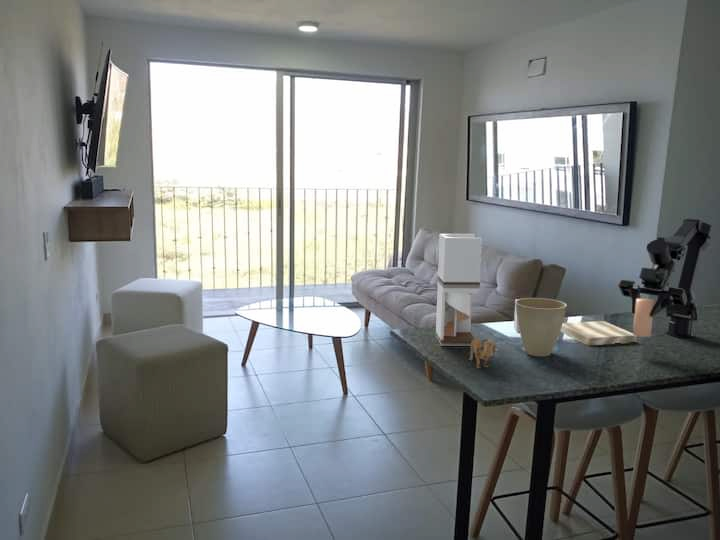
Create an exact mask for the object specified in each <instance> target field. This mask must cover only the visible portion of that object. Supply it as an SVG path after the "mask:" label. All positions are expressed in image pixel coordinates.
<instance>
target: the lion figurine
mask: <svg viewBox="0 0 720 540" xmlns="http://www.w3.org/2000/svg"><path fill="white" fill-rule="evenodd" d="M498 350H499V347H498V346H497V345H496V344H495V343H494V340H493V339H490V338H487V339H483V340H481V339H480V338H477V337H475V339H473V340H472V342H471V347H470V352H468V353H467V355H469V358H468V361H469V360H471V361H470V362H473V361H474V359H473V356H474V355H473V354H475V356H474V357H475V358H476V367H478V368H480V369H481V360H483V365H482V366H483V367H484V366H485V367H487V368H489V365H488V364H487V363H488V359H490V357H492V356H493V354H497V351H498ZM472 360H473V361H472ZM485 367H484V368H485Z"/></svg>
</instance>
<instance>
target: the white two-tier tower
mask: <svg viewBox="0 0 720 540" xmlns="http://www.w3.org/2000/svg"><path fill="white" fill-rule="evenodd" d="M438 236H439V237H438V238H439V241H438V262H437V263H438V268H437V293H436V294H437V295H436V316H435V317H436V320H435V339H436V338H437V339H438V341H439V342H438V341H437V342H438V343H440V344H439V346H440V345H441V346H471V342H472V340H473V339H476V337H475V336H474V335H473V334H472V333H471V326H472V324H471V321H472V307H473V306H472V304H473V303H472V302H473V301H472V300H473V294H475V293H476V294H479V293H480V289H481V287H480V286H481V267H482V252H483V247H482V246H483V238H482V237H476V234H475V233H439V235H438ZM437 339H436V340H437ZM441 346H440V347H441Z"/></svg>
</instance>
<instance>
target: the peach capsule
mask: <svg viewBox="0 0 720 540" xmlns="http://www.w3.org/2000/svg"><path fill="white" fill-rule="evenodd" d="M654 305H655V299H653V298H649V297H641V298H636V305H635V313H634V317H633V328H632V333H633V335H636V336H637V337H641V338H650V337H651V336H652V329H653V327H652V326H653V318H654V316H653V317H651V316H650V314H651V311H652V309H653V307H654Z"/></svg>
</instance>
